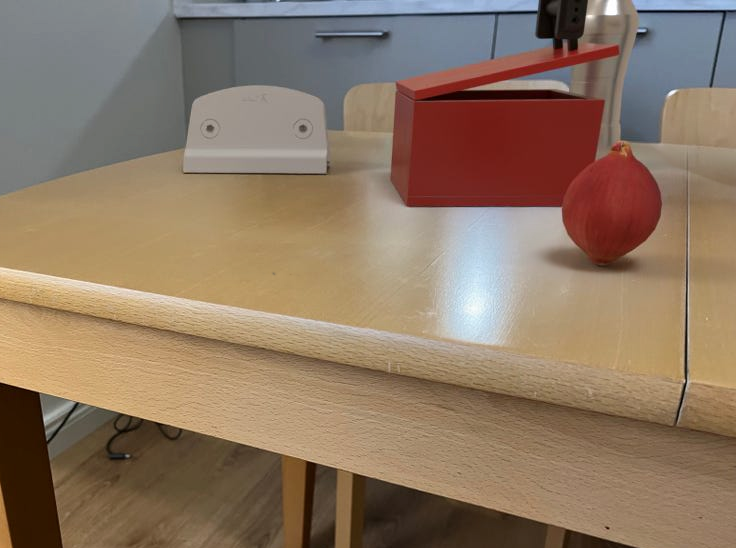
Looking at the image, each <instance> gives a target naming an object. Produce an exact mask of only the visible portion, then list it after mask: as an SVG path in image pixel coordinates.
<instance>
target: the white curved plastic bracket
mask: <svg viewBox="0 0 736 548" xmlns="http://www.w3.org/2000/svg"><path fill="white" fill-rule="evenodd" d="M188 122H189V123H188V128H187V136H186V142H185V147H184V149H185V150H184V152H183V153H184V154H183V159H182V161H183V162H182V164H183V165H182V173H183V174H243V175H244V174H246V175H247V174H248V175H249V174H250V175H251V174H252V175H254V174H255V175H260V174H261V175H270V174H271V175H276V174H277V175H328V168H330V167H331V166H332V165H331V153H330V143H329V135H328V134H329V132H328V124H327V123H328V122H327V113H326V105H325V103H324V102H323V101H322V100H321V99H320V98H319V97H317V96H314V95H313V94H309V93H307V92H303V91H300V90H297V89H293V88H289V87H283V86H276V85H261V84H259V85H258V84H257V85H255V84H254V85H253V84H252V85H241V86H234V87H229V88H223V89H219V90H216V91H213V92H209V93H207V94H204V95H201V96H199V97H197V98H195V99H194V100H193V102H192V104H191V109H190V116H189V121H188Z"/></svg>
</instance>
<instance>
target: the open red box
mask: <svg viewBox="0 0 736 548" xmlns="http://www.w3.org/2000/svg"><path fill="white" fill-rule="evenodd" d="M604 104H605V100H603V99H599V98H594V97H590V96H585V95H581V94H576V93H572V92H569V91H566V90H562V89H557V88H526V89H525V88H522V89H521V88H519V89H517V88H516V89H513V88H512V89H511V88H510V89H465V90H460V91H456V92H451V93H447V94H442V95H438V96H433V97H429V98H424V99H420V100H414V99H412V98H411V97H409V96H407V95H405V94H404V93H402V92H400V91H398V90H397V89H396V90H395V97H394V113H393V129H392V130H393V131H392V146H391V163H390V176H389V177H390V178H389V179H390V183H391V184H392V185H393V187H394V188H395V190H396V191H397V193H398V194H399V196H400V198H401V199H402V200H403V202H404V204H405V206H406V207H562V205H563V200H564V196H565V194H566V192H567V189H568V187H569V186H570V184H571V183H572V181H573V180H574V179H575V178H576V177H577V175H578V174H579V173H580V172H582V171H583V170H584V169H585V168H586V167H587V166H589V165H590V164H592V163H593V162H595V158H596V152H597V146H598V140H599V134H600V128H601V122H602V116H603V110H604Z"/></svg>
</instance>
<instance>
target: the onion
mask: <svg viewBox="0 0 736 548" xmlns="http://www.w3.org/2000/svg"><path fill="white" fill-rule="evenodd" d="M662 201H663V200H662V192H661V190H660V186H659V184H658V182H657V180H656V178H655V177H654V175H653V174H652V172H651V171H650V170H649V169H648V167H647V166H646V165H644V163H643V162H641V161H640V160H638V159H637V158H636V157H635V156H634V154H633V151H632V148H631V143H630V142H628V141H626V140H620V141H618V142H616V143H615V144H614V145H613V146H611V151H610V152H609V153H608V154H607V155H606V156H604V157H602V158H600V159H599V160H597V161H595V162H593V163H592V164H590V165H589V166H587V167H586V168H585V169H584V170H583V171H582V172H580V173H579V174H578V175H577V177H576V178H575V179H574V180H573V181H572V183H571V184H570V186H569V187H568V189H567V192H566V194H565V196H564V200H563V205H562V206H561V220H562V224H563V226H564V228H565V229H564V230H565V231H566V234H567V236H568V237H569V239H571V241H572V242H573V243H574V244H575V246H577V248H578V249H580V250H581V251H582V252H583V253H584V254H585V255H586V256H587V257H588V259H589V260H590V261H591V262H592V263H594V264H595V265H597V266H607V265H610V264H612V263H613V262H615V261H617V260H619V259H620V258H622V257H624V256H627V254H629V253H630V252H633V251H634V250H635V249H637V248H638V247H639V246H641V245H642V244H644V243H645V242H646V241H647V240H648V239H649V237H650V236H652V234H653V233H654V231H655V230H656V228H657V226H658V223H659V221H660V219H661V217H662V207H663V202H662Z"/></svg>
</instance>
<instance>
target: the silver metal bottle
mask: <svg viewBox="0 0 736 548" xmlns="http://www.w3.org/2000/svg"><path fill="white" fill-rule="evenodd" d="M639 17H640V16H639V12H638V10H637V8H636V6H635V3H634V2H633V0H588V5H587V12H586V20H585V27H584V34H583V36H582V37H581V38H579V39H578V43H586V44H609V45H619V55H617V56H613V57H608V58H604V59H599V60H595V61H590V62H586V63H582V64H577V65H573V66H570V74H569V75H570V80H569V86H568V92H572V93H576V94H581V95H585V96H590V97H594V98H599V99H603V100H605V104H604V110H603V116H602V122H601V128H600V134H599V140H598V146H597V152H596V158H595V161H597V160H599V159H600V158H602V157H604V156H606V155H607V154H608V153H609V152H610V151H611V146H613V145H614V144H615V143H616V142H618V141H621V129H622V128H621V123H620V120H621V111H622V110H621V109H622V99H623V97H622V96H623V89H624V84H625V81H624V80H625V77H626V74H627V71H628V70H627V69H628V65H629V61H630V57H631V55H632V51H633V48H634V44H635V41H636V38H637V33H638V31H639V28H640V27H639V26H640V19H639Z"/></svg>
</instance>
